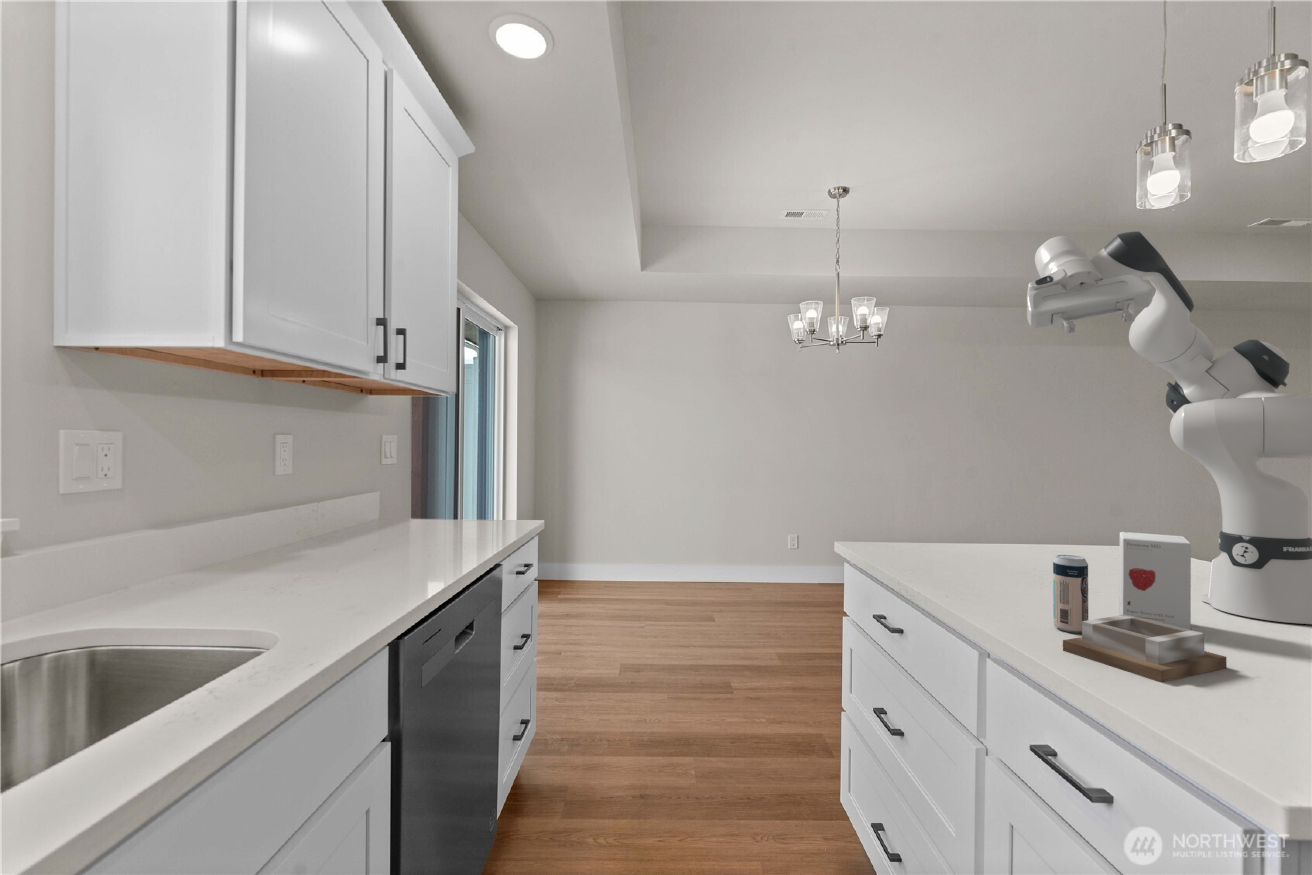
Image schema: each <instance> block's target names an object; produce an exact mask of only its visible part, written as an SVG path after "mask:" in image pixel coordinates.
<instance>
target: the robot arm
mask: <svg viewBox="0 0 1312 875" xmlns="http://www.w3.org/2000/svg"><path fill="white" fill-rule="evenodd" d="M1157 244H1158V243H1156V242H1155V240H1154V239H1153V238H1151V236H1149V235H1147V234H1146V233H1144V232H1141V231H1127V232H1122V233H1118V234H1117V235H1115V237H1114V238H1112V240H1110V241H1109V242H1108V243H1107V244H1106V245H1105V246H1104V247H1103V248H1102V249H1101V250H1100V251H1099V252H1097V253H1096V254H1095V255H1094V256H1092V257H1091V258H1090V259H1089V257H1088V255H1087V253H1086V252H1085V251H1084V250H1083V248H1082V247H1081V246H1080V245H1079V244H1078V243H1077V242H1076V241H1074V240H1073V239H1072V238H1070V237H1069V236H1065V235H1059V236H1053V237H1052V238H1050V239H1047V240H1046V241H1045V242H1044V243H1042V244H1041V245H1040V246H1039V247H1038V248H1037V250H1036V252H1035V254H1034V264H1035V267H1036V270H1037V274H1038V275H1039V277H1040V278H1038V279H1035V280H1033V281H1030V282H1029V283H1028V286H1027V292H1026V317H1027V318H1026V319H1027V322H1028V325H1029V326H1030V327H1032V328H1035V329H1038V328H1039V329H1040V328H1044V327H1049V326H1053V327H1054V328H1057V329H1059V330H1062V331H1063V332H1064V334H1065V335H1068V334H1073V333H1076V325H1075V323H1074V322H1077V321H1081V320H1087V319H1093V318H1098V317H1103V316H1108V315H1114V314H1115V315H1116V314H1120V313H1121V321H1122V322H1123V324H1128V323H1131V325H1130V328H1129V332H1128V341H1129V344H1130V347H1131V348H1132V349H1133V350H1134V351H1135V352H1136V353H1137V355H1139V356H1140V357H1142V359H1144V360H1146V361H1147V362H1149V363H1151V364H1152V365H1154V366H1156V367H1158V368H1160V369H1162V370H1163V371H1165V372H1167V373H1169V374H1170V375H1172V377H1173V378H1174V380H1175V381H1174V384H1173V383H1172V382H1170V381H1169V382H1167V383H1166V386H1167V388H1168V389H1167V392H1166V394H1165V404H1166V406H1167V408H1168V411H1169V412H1170V414H1171V415H1172V418H1171V420H1170V423H1169V424H1170V425H1169V435H1170V436H1171V440H1172V442H1173V443H1174V445H1175V446H1176V447H1177V448H1178V449H1179V450H1180V451H1182V452H1183V453H1184V454H1187V455H1188V456H1190V457H1192V459H1195V460H1196V461H1197V462H1198V463H1200V464H1201V465H1202V466H1203V467H1204V468H1205V470H1207V472H1208V473H1209V474H1210V476H1211V477H1212V478H1213V480H1214V482H1215V484H1216V486H1217V489H1218V492H1219V493H1218V494H1219V497H1220V498H1219V499H1220V508H1221V523H1222V528H1221V529H1222V530H1221V531H1219V536H1218V549H1219V551H1221V552H1220V554H1219V555H1218V556H1216V557H1215V558H1214V559H1212V560H1211V567H1210V574H1209V575H1210V576H1209V585H1208V586H1209V587H1208V594H1202V595H1201V601H1202V602H1205V603H1207V604H1209V605H1210V606H1211V607H1212V608H1214V609H1216V610H1218V611H1222V612H1225V613H1228V614H1233V615H1237V616H1242V617H1246V618H1252V619H1257V620H1258V619H1259V620H1265V621H1272V622H1279V623H1289V624H1301V625H1303V624H1305V625H1312V537H1309V499H1308V496H1307V494H1306V493H1305V491H1303V490H1302V488H1301V487H1299V486H1297V485H1296V484H1294V483H1291V482H1290V481H1286V480H1285V479H1282V478H1280V477H1277V476H1274V475H1272V474H1269V473H1266V472H1264V471H1262V470H1261V469H1260V468H1259V467H1258V464H1257V460H1259V459H1303V460H1305V459H1308V460H1309V459H1312V394H1311V395H1310V394H1309V395H1308V394H1300V393H1299V394H1297V393H1295V394H1294V393H1281V392H1279V391H1276V390H1278V389H1279V388H1280V386H1283V387H1284V388H1286V387H1287V385H1288V384H1287V382H1285V381H1286V379H1287V378H1288V376H1289V374H1290V363H1289V362H1288V359H1287V357H1286V355H1285V353H1284V352H1283V351H1282V350H1281V349H1280V348H1278V347H1277V346H1275V345H1273V344H1272V343H1269V342H1267V341H1261V340H1258V339H1247V340H1244V341H1243V342H1240V343H1238V344H1236V345H1234V346H1233V347H1232V349H1231V350H1229V351H1227V352H1225V353H1223V354H1222V355H1219V356H1218V357H1216V358H1215V359H1214V357H1215V348H1214V345H1213V344H1212V342H1211V341H1210V339H1209V338H1208V336H1207V335H1206V334H1205V333H1204V332H1203V331H1202V330H1201V329H1200V328H1199V327H1198V326H1197V325H1195V324H1194V323H1193V322H1192V321H1191V320H1190V318H1191V313H1192V312H1193V310H1194V308H1195V306H1194V302H1193V300H1192V298H1191V296H1190V294H1189V293H1188V291H1187V290H1186V288H1185V287H1184V285H1183V284H1182V283H1181V281H1180V280H1179V278H1178V277H1177V275H1175V273H1174V272H1173V270H1172V269H1171V268H1170V266H1169V265H1168V263H1167V261H1166V260H1165V259H1164V258H1163V255H1162V254H1163V253H1162V252H1161V249H1160V248H1159V246H1158V245H1157ZM1145 279H1148V281H1149V282H1150V284H1151V285H1152V286H1153V287H1154V288H1152V286H1151V285H1150V284H1149V283H1148V282H1147V281H1145ZM1154 289H1155V292H1154ZM1141 309H1142V310H1141ZM1135 310H1137V311H1138V310H1141V311H1140V313H1139V314H1137V316H1136V314H1135Z"/></svg>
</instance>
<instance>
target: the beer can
mask: <svg viewBox="0 0 1312 875" xmlns="http://www.w3.org/2000/svg"><path fill="white" fill-rule="evenodd" d="M1052 573H1053V574H1052V575H1053V576H1052V582H1053V584H1052V587H1053V588H1052V589H1053V590H1052V594H1053V595H1052V596H1053V606H1052V607H1053V609H1052V610H1053V620H1052V621H1053V626H1054V627H1056V628H1057V629H1058V630H1060V631H1062V632H1067V633H1072V634H1082V621H1087V620H1089V563H1088V562H1087V560H1086V557H1083V556H1080V555H1079V556H1078V555H1071V554H1057V555H1055V557H1054V559H1053V562H1052Z"/></svg>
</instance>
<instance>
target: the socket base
mask: <svg viewBox="0 0 1312 875" xmlns="http://www.w3.org/2000/svg"><path fill="white" fill-rule="evenodd" d="M1062 651H1064V652H1067V653H1069V654H1073V655H1077V656H1078V657H1079V656H1080V657H1083V658H1085V659H1089V660H1092V661H1095V662H1098V663H1101V664H1104V665H1107V666H1110V667H1113V668H1116V669H1118V670H1123V671H1126V672H1128V673H1131V672H1132V674H1135V675H1138V676H1141V677H1144V678H1147V679H1150V680H1153V681H1156V682H1159V683H1164V682H1168V681H1173V680H1178V679H1181V678H1182V679H1183V678H1186V677H1190V676H1191V677H1192V676H1195V675H1196V676H1197V675H1201V674H1205V673H1209V672H1214V671H1218V670H1222V669H1227V666H1228V665H1227V656H1225V655H1220V654H1217V653H1213V652H1210V651H1207V650H1205V633H1204V632H1201V631H1195V630H1193V629H1191V630H1188V629H1184V628H1180V627H1176V626H1172V625H1168V624H1164V623H1160V622H1156V621H1152V620H1147V619H1143V618H1139V617H1135V616H1131V615H1127V614H1126V615H1120V614H1119V615H1114V616H1109V617H1101V618H1096V619H1088V620H1087V621H1082V633H1081V636H1079V637H1073V638H1066V639H1062Z"/></svg>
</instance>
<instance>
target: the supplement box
mask: <svg viewBox="0 0 1312 875" xmlns="http://www.w3.org/2000/svg"><path fill="white" fill-rule="evenodd" d="M1191 546H1192V545H1191V542H1190V541H1189V540H1187V539H1186V537H1185V536H1183V535H1182V536H1181V535H1171V534H1157V533H1146V532H1145V533H1144V532H1143V533H1142V532H1141V533H1140V532H1129V531H1120V532H1119V563H1118V564H1119V566H1118V567H1119V571H1118V572H1119V577H1118V578H1119V580H1118V581H1119V584H1118V585H1119V588H1118V589H1119V591H1118V592H1119V596H1118V598H1119V601H1118V602H1119V607H1118V608H1119V616H1120V615H1126V614H1127V615H1131V616H1135V617H1139V618H1143V619H1147V620H1152V621H1156V622H1160V623H1164V624H1168V625H1172V626H1176V627H1180V628H1184V629H1188V630H1192V628H1191V624H1192V620H1191V619H1192V618H1191V617H1192V616H1191V614H1192V613H1191V610H1192V609H1191V608H1192V607H1191V606H1192V605H1191V604H1192V602H1191V599H1192V597H1191V596H1192V595H1191V591H1192V590H1191V588H1192V585H1191V583H1192V581H1191V577H1192V574H1191V573H1192V572H1191V571H1192V570H1191V568H1192V566H1191V564H1192V559H1191V557H1192V555H1191V554H1192V552H1191Z"/></svg>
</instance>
